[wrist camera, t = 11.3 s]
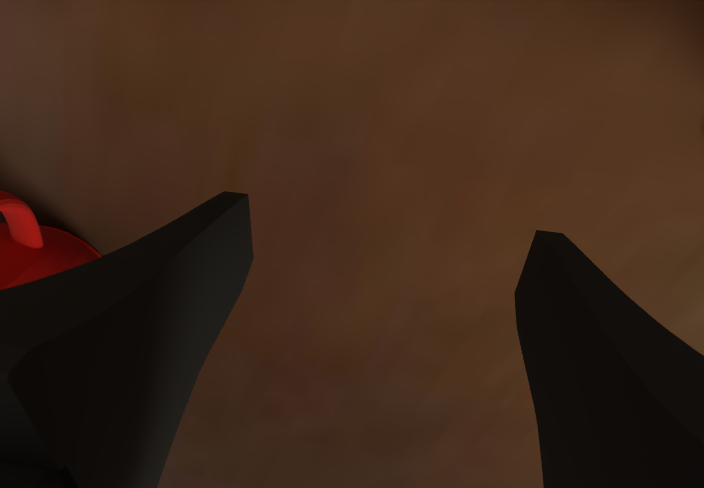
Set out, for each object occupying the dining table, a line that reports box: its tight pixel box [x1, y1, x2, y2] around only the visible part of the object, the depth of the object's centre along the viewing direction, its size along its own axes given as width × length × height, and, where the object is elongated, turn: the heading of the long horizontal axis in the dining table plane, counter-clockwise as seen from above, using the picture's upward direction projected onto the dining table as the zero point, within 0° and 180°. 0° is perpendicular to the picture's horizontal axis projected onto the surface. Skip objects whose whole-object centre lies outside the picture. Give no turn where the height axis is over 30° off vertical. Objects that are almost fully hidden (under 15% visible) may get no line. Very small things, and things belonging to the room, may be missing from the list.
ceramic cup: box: [0, 190, 102, 290], centre depth 23 cm, size 13×17×10 cm
